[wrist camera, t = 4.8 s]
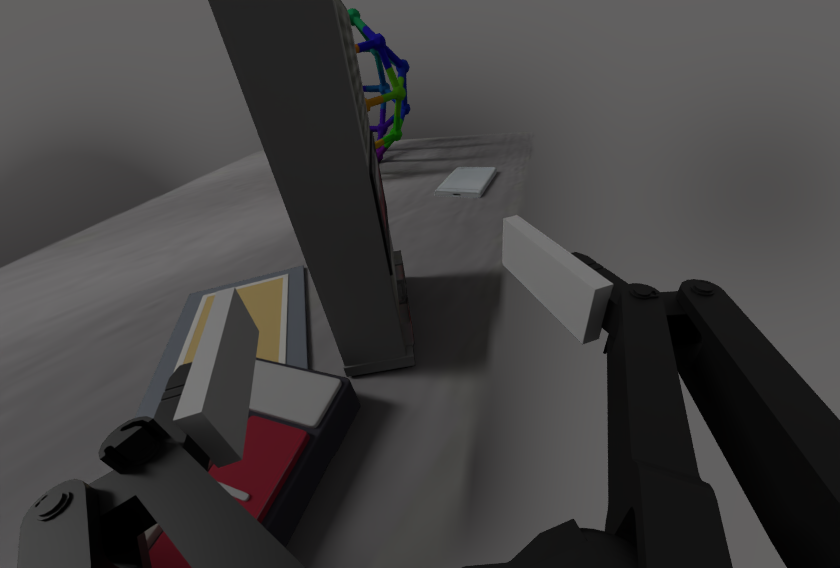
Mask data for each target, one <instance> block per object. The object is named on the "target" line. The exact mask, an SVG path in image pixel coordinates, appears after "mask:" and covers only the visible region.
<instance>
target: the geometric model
mask: <svg viewBox="0 0 840 568" xmlns="http://www.w3.org/2000/svg"><path fill="white" fill-rule="evenodd" d="M348 13H349V18H350V23H351V25H352V26H356V27H357V29H358V30H359V31H360V33H361V34H362V36H363V37H364V38H365V40H366V41H365V42H362V43H358V44H355V49H356V53H360V52H371V53H372V54H373V55H374V56H375V61H376V65H377V69H378V74H379V79H380V83H381V84H380V85H376V86H375V85H373V86H363V92H380V93H381V94H382V95H381V96H378V97H374V98H371V99H366V98H365V102H366V108H367V112H368V111H370V107H372V106H375V105H378V104H381V109H380V124H379V125H378V126H369V127H370V131H373V132H378V139H377V141H376V142H375V147H376V152H377V158H378V162H380V161H381V160H382V159H383V154H384V152H385V151H386V150H387V149H388V148H389V147H390V145H391V144H392V143H393V142H394V141H398V140H400V139H401V136H402V132H401V127H402V124H403V121H404V117H405V115H406V114H408V113H409V111H410V105H409V104H407V89H406V73H407V72H408V71H409V65H408V62H407V61H406V60H403V59H402V60H401V59H399V58H398V57H397V56H396V55H395V54H394V53H393V52H392V51H391V50H390V49H389V48H388V47H387V46H386V42H385V39H384V37H383V36H382V35H381V34H380V33H379V34H375V33H374V32H373V31H372V30H371V29H370V28H369V27H368V26H367V25H366V24H365V23H364V22H363V21H362V20H361V19H360V14H359V11H357V10H356V9H353V8H352V9H349V10H348ZM382 62H383V65H384V67H385V69H386V72H387V74H388V77H389V79H390V82H391V84H392V87H393V91H391V90H390V86H389V84H388V83H386V81H385V75H384V70H383V65H382ZM391 63H392V64H393V65H394V66H396V69H397V71H398V80H397V78H396V75H395V73H394V71H393V68H392V65H391ZM390 100H392V101H393V102H394V103H395V113H394V115H393V116H391V117H390V119H389V120H387V121H386V122H385V116H386V115H385V113H386V102H387V101H390ZM392 123H393V128H392V129H391V131H390V134H389V135H387V136H385V137H383V135H385V134H386V132H387V129H388V127H389V126H390V125H391V124H392Z"/></svg>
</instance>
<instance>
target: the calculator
mask: <svg viewBox="0 0 840 568" xmlns="http://www.w3.org/2000/svg"><path fill="white" fill-rule="evenodd" d="M359 408H360V403H359V400H358V398H357V396H356V394H355V391H354V389H353V387H352V384H351V382H350V380H349V379H348V378H345V377H341V376H336V375H332V374H328V373H323V372H319V371H314V370H310V369H305V368H301V367H296V366H292V365H288V364H283V363H279V362H274V361H270V360H265V359H261V358H257V357H256V361H255V368H254V376H253V383H252V391H251V398H250V406H249V413H248V421H247V428H246V436H245V443H244V451H243V458H242V460H241V461H238V462H235V463H232V464H229V465H226V466H223V467H220V468H218V467H217V466H216V465H215V464H214V463H213V462H212V461H211V460H210V461H209V466H208V471H207V472H208V473H209V474H210V475H211V476H212V477H213V478H214V479H215V480H216V481H217V482H218V483H219V484H220V485H221V486H222V487H223V488H224V489H225V490H227V491H228V492H229V493H230V494H231V495H232V496H233V497H234V498H235V499H236V500H237V501H238V502H239V503H240V504H241V505H242V506H243V507H244V508H245V509H246V510H247V511H248V512H249V513H250V514H251V515H252V516H253V517H254V518H255V519H256V520H257V521H258V522H259V523H260V524H261V525H262V526H263V527H264V528H265V529H266V530H267V531H269V532H270V533H271V534H272V535H273V536H274V537H275V538H276V539H277V540H278V541H279V542H280V543H281V544H282V545H283V546H284V547H286V545H287V543H288V541H289V540H290V538H291V536H292V534H293V532H294V530H295V528H296V526H297V524H298V522H299V520H300V518H301V516H302V514H303V512H304V510H305V509H306V507H307V505H308V503H309V501H310V499H311V497H312V495H313V493H314V491H315V489H316V487H317V485H318V483H319V481H320V479H321V477H322V475H323V473H324V471H325V469H326V467H327V465H328V463H329V462H330V460H331V458H332V457H333V456H334V455H335V453H336V452H337V450H338V448H339V446H340V444H341V442H342V440H343V439H344V437H345V435H346V433H347V431H348V429H349V427H350V425H351V424H352V422H353V420H354V418H355V416H356V414H357V412H358V410H359ZM145 536H146V541H147V546H148V551H149V555H150V560H151V565H152V568H192V567H191V566H190V565H189V563H188V562H187V561H186V559H185V558H184V557H183V556H182V554H181V553H180V552H179V550H178V549H177V548H176V546H175V545H174V544H173V542H172V541H171V540H170V539H169V537H168V536H167V535H166V533H165V532H164V531H163V529H162V528H161V527H160V526H159V524H158V523H157V524H155V525H154V526H152V527H151V528H149V529H148V530H146V531H145Z"/></svg>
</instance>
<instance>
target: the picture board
mask: <svg viewBox="0 0 840 568" xmlns="http://www.w3.org/2000/svg"><path fill="white" fill-rule="evenodd" d="M232 287H235V288H236V290H237V292H238V294H239V295H240V297H241V299H242V301H243V303H244V305H245V306H246V308H247V310H248V312H249V314H250V316H251V317H252V319H253V321H254V323H255V325H256V326H257V328H258V330H259V338H258V346H257V353H256V357H257V358H261V359H265V360H270V361H274V362H279V363H283V364H288V365H292V366H296V367H301V368H305V369H309V368H308V344H307V321H306V298H305V274H304V266H299V267H295V268H291V269H287V270H283V271H279V272H275V273H271V274H267V275H263V276H259V277H255V278H251V279H247V280H243V281H239V282H235V283H231V284H227V285H223V286H220V287H216V288H212V289H208V290H204V291H200V292H196V293H192V294H190V295H189V297H188V299H187V301H186V304H185V306H184V308H183V310H182V313H181V315H180V317H179V319H178V322H177V324H176V326H175V328H174V331H173V333H172V335H171V337H170V340H169V342H168V344H167V346H166V349H165V351H164V353H163V355H162V358H161V360H160V362H159V364H158V367H157V369H156V371H155V373H154V376H153V378H152V380H151V382H150V385H149V387H148V389H147V391H146V394H145V396H144V398H143V400H142V403H141V405H140V407H139V409H138V412H137V414H136V416H135V418H137V417H143V416H148V417H151V418H154V415H155V413H156V410H157V408H158V405H159V403H160V402H161V398H162V395H163V393H164V392H165V387H166V385H167V382H168V380H169V378H170V376H171V375H172V374H173V373H174V372H175V370H176V369H177V368H178V367H179V366H180V365H183V364H187V363H190V362H193V359H194V357H195V354H196V351H197V348H198V345H199V342H200V339H201V336H202V333H203V330H204V327H205V324H206V321H207V318H208V315H209V312H210V309H211V306H212V303H213V300H214V298H215V295H216V292H217V291H220V290H224V289H228V288H232Z"/></svg>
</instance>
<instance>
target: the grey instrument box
mask: <svg viewBox="0 0 840 568" xmlns="http://www.w3.org/2000/svg"><path fill="white" fill-rule="evenodd" d="M208 1H209V4H210V6H211V9H212V12H213V14H214V17H215V20H216V22H217V25H218V28H219V30H220V33H221V36H222V38H223V41H224V44H225V46H226V49H227V52H228V54H229V57H230V60H231V62H232V65H233V68H234V70H235V73H236V76H237V79H238V80H239V84H240V86H241V89H242V92H243V94H244V97H245V100H246V103H247V105H248V108H249V111H250V113H251V116H252V118H253V121H254V124H255V126H256V129H257V132H258V135H259V137H260V140H261V143H262V145H263V148H264V151H265V153H266V156H267V159H268V161H269V164H270V167H271V169H272V172H273V175H274V178H275V180H276V183H277V186H278V188H279V191H280V194H281V196H282V199H283V202H284V204H285V207H286V210H287V212H288V215H289V218H290V220H291V223H292V226H293V228H294V231H295V234H296V236H297V239H298V242H299V244H300V247H301V250H302V252H303V255H304V258H305V260H306V263H307V266H308V268H309V271H310V274H311V277H312V279H313V282H314V285H315V287H316V290H317V293H318V295H319V298H320V301H321V303H322V306H323V309H324V311H325V314H326V317H327V319H328V322H329V325H330V327H331V330H332V333H333V335H334V338H335V341H336V343H337V346H338V349H339V351H340V354H341V357H342V359H343V362H344V371H345V373H346V376H347V377H349V376H355V375H361V374H367V373H373V372H378V371H384V370H390V369H396V368H402V367H408V366H413V365H415V361H414V353H413V346H412V344H414V337H413V330H412V323H411V318H410V311H409V304H408V298H407V291H406V280H405V273H404V267H403V261H402V256H401V250H400V251H393V245H392V240H391V235H390V230H389V224H388V216H387V206H386V201H385V195H384V190H383V185H382V179H381V174H380V169H379V163H378V158H377V152H376V147H375V142H374V136H373V131H370V127H369V118H368V113H367V108H366V102H365V97H364V92H363V86H362V82H361V76H360V71H359V65H358V60H357V55H356V49H355V44H354V39H353V34H352V29H351V23H350V18H349V13H348V11H347V9H346V7H345V6H344V4H343V3H342V2H341V0H208Z"/></svg>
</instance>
